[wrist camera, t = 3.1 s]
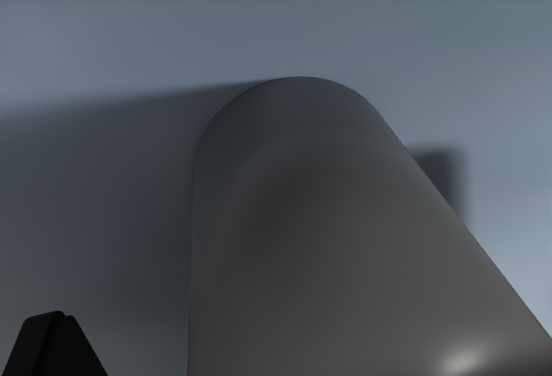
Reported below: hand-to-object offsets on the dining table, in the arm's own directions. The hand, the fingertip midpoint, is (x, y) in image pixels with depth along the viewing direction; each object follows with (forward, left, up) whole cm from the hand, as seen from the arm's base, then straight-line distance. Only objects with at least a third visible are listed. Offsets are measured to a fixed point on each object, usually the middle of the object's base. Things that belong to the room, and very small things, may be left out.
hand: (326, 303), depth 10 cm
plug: (0, 0, -2) cm, 2 cm away
